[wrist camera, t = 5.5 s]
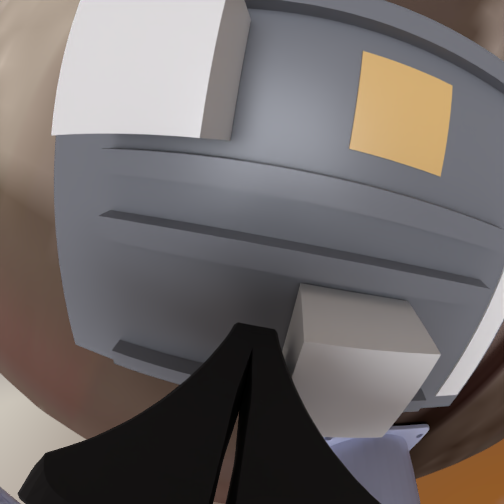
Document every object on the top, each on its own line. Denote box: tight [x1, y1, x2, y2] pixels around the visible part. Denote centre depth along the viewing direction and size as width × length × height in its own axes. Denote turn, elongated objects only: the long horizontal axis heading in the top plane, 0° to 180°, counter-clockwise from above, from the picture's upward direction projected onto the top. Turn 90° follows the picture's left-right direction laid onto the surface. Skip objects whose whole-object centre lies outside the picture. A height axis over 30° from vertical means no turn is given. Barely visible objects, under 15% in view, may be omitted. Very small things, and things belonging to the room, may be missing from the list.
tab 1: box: [51, 0, 251, 141], centre depth 6 cm, size 4×4×3 cm
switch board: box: [54, 0, 504, 412], centre depth 9 cm, size 16×20×3 cm
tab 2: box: [282, 283, 441, 438], centre depth 8 cm, size 4×4×3 cm
